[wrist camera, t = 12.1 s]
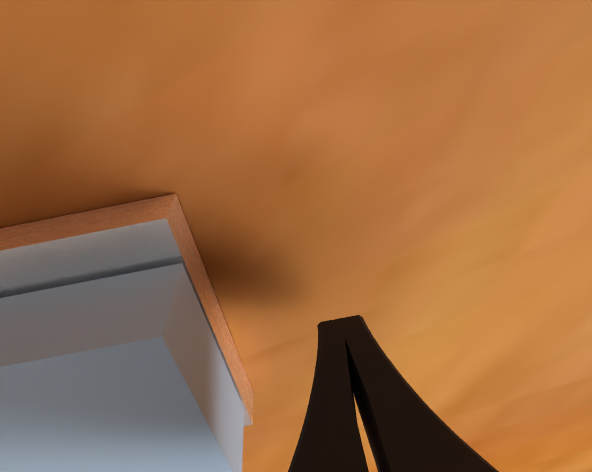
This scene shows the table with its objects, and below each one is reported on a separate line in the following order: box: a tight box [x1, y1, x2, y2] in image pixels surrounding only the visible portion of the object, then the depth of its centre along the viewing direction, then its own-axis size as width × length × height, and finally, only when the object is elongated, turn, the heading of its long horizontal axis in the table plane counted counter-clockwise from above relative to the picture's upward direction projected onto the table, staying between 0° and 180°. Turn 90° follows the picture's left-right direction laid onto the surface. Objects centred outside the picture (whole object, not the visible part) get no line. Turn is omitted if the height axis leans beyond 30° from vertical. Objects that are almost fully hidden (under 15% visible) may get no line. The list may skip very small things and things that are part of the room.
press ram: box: [0, 263, 244, 472], centre depth 12 cm, size 7×8×3 cm
